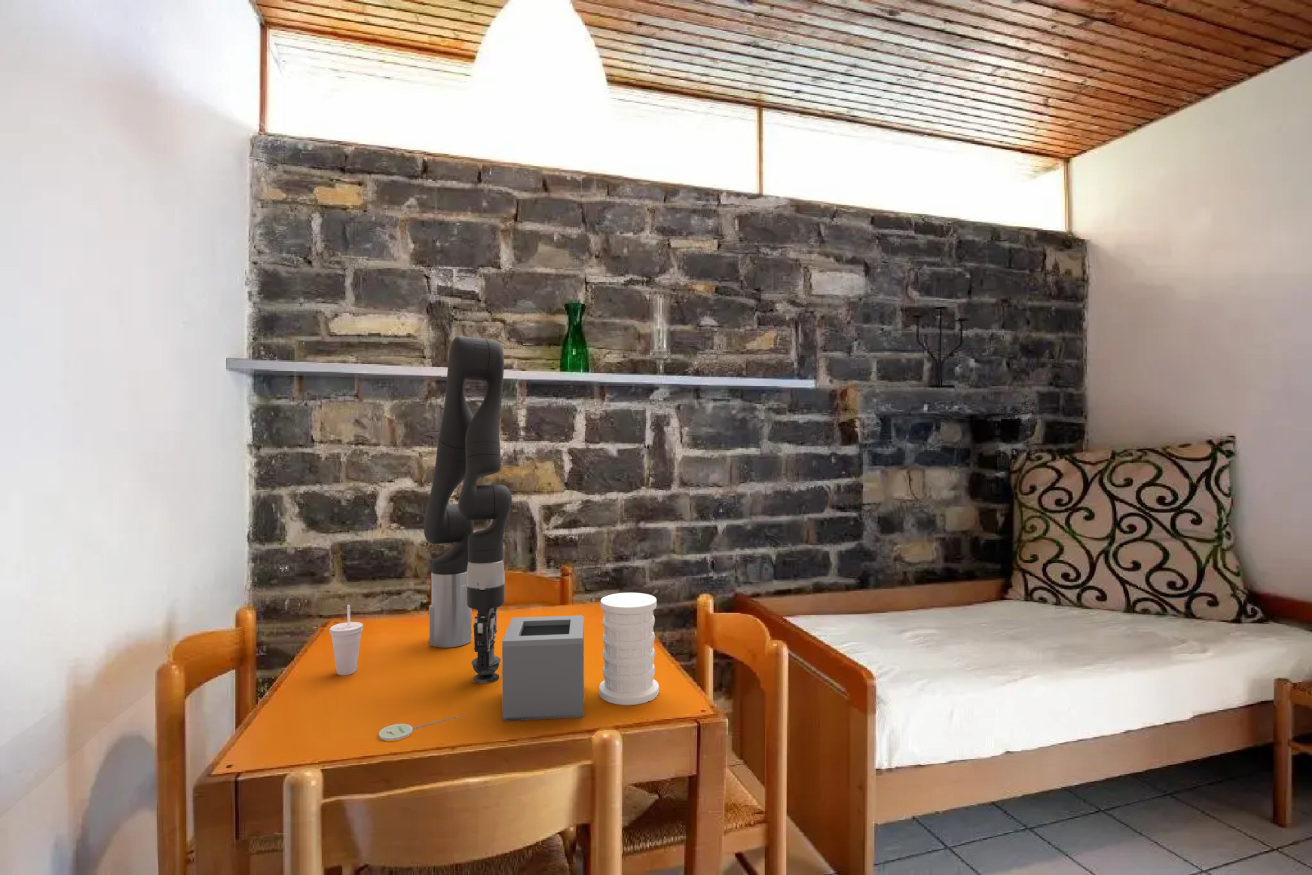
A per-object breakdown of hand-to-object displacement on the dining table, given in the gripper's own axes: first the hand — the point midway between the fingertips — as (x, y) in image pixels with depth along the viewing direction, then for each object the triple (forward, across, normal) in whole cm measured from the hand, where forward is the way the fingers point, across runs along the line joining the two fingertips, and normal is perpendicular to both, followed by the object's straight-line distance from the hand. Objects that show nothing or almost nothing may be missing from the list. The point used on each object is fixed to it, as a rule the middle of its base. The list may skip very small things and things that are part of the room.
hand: (486, 663), depth 128 cm
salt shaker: (+3, 0, 0) cm, 3 cm away
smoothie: (+3, -7, -30) cm, 31 cm away
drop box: (+3, +13, +13) cm, 19 cm away
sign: (+4, +20, -7) cm, 21 cm away
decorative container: (+3, +10, +29) cm, 31 cm away
